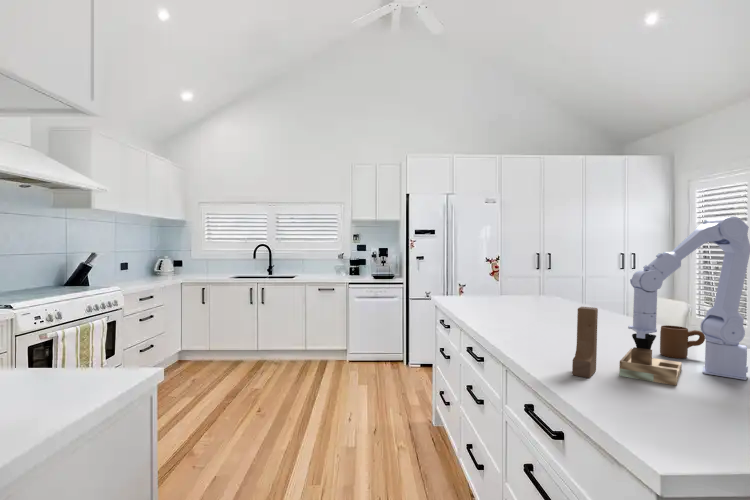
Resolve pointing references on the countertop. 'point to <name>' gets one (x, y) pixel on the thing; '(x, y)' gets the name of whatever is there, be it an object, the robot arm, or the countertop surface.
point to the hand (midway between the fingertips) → (643, 359)
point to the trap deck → (651, 370)
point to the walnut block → (641, 356)
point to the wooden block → (586, 342)
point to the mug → (677, 341)
